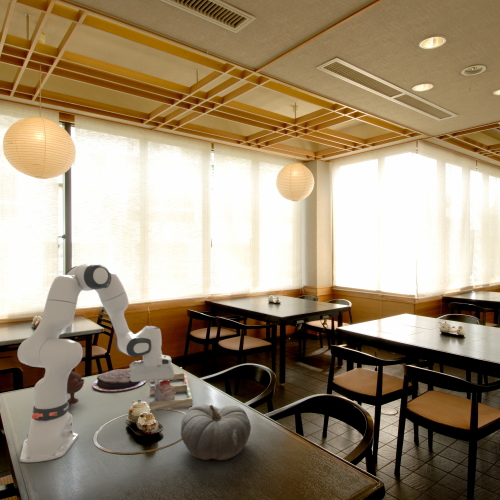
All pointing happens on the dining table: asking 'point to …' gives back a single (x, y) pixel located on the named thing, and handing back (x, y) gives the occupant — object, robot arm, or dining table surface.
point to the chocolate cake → (116, 381)
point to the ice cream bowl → (74, 386)
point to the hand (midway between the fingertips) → (152, 388)
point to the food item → (164, 391)
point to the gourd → (215, 431)
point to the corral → (178, 388)
